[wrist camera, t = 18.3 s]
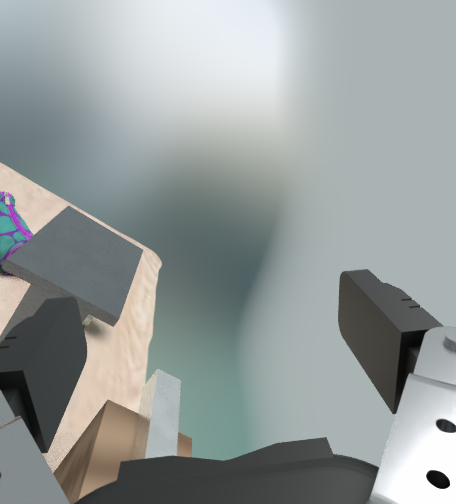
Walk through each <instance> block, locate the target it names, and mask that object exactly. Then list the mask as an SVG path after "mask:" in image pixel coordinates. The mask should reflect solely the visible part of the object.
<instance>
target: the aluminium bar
mask: <svg viewBox="0 0 456 504" xmlns="http://www.w3.org/2000/svg"><path fill="white" fill-rule="evenodd" d="M180 386H181V380H179V379H177V378H175V377H173V376H171V375H169V374H167V373H165V372H163V371H161V370H159V369H157V370H156V372H155V373H154V374H153V375H152V377H151V378H150V379H149V381H148V382H147V383H146V384H145V386H144V387H143V392H142V397H141V403H140V409H139V414H138V420H137V425H136V431H135V436H134V442H133V447H132V453H131V458H130V460H138V459H146V458H155V457H163V456H172V455H173V456H177V441H178V422H179V402H180Z"/></svg>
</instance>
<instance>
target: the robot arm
mask: <svg viewBox="0 0 456 504" xmlns="http://www.w3.org/2000/svg"><path fill="white" fill-rule="evenodd" d="M338 322H339V328H340V332H341V335H342V337H343V339H344V340H345V341H346V343H347V345H348V346H349V348H350V349H351V351H352V352H353V354H354V355H355V357H356V358H357V360H358V361H359V363H360V364H361V366H362V368H363V369H364V370H365V372H366V374H367V375H368V377H369V378H370V380H371V381H372V383H373V384H374V386H375V387H376V389H377V391H378V392H379V394H380V395H381V397H382V398H383V400H384V401H385V403H386V404H387V406H388V407H389V408H390V410H391V412H392V413H393V414H396V416H395V420H394V423H393V426H392V429H391V432H390V436H389V439H388V442H387V445H386V448H385V452H384V455H383V458H382V461H381V465H380V468H379V467H377V466H374V465H372V464H370V463H367V462H365V461H362V460H359V459H356V458H352V457H347V456H343V455H337V454H333V453H332V450H331V448H330V445H329V443H328V440H327V438H326V437H325V438H316V439H308V440H299V441H291V442H282V443H276V444H273V445H271V446H267V447H265V448H262V449H259V450H256V451H253V452H251V453H248V454H245V455H242V456H239V457H236V458H234V459H230V460H225V461H220V460H211V459H201V458H192V457H183V456H173V455H172V456H163V457H155V458H146V459H138V460H129V461H121V462H120V467H119V472H118V477H117V480H115V481H113V482H110V483H108V484H105V485H103V486H101V487H99V488H97V489H95V490H93V491H92V492H90V493H88V494H86V495H85V496H83V497H82V498H80V499H79V500H78V501H76V502H75V503H73V504H456V327H444V326H443V325H442V324H441V323H439V322H438V321H437V320H436V319H435V318H434V317H433V316H431V315H430V314H429V313H428V312H427V311H425V310H424V309H423V308H420V305H419V304H417V303H416V302H415V301H414V300H412V298H411V297H410V296H408V295H407V294H406V293H405V292H404V291H402V290H401V289H399V288H396V287H394V286H392V285H390V284H387V283H382V282H381V281H380V280H379V279H377V277H376V276H375V275H373V274H372V273H371V272H370V271H369V270H367V269H365V270H354V271H344V272H342V273H341V275H340V285H339V311H338ZM86 358H87V343H86V338H85V333H84V329H83V324H82V320H81V315H80V311H79V306H78V303H77V300H76V298H75V297H73V296H70V297H60V298H49V299H46V300H45V301H44V302H43V304H42V305H41V306H40V307H39V309H38V310H37V311H36V313H35V314H34V315H33V316H31V317H27V318H26V319H24V320H23V321H21V322H20V323H18V324H17V325H15V326H14V327H13V328H12V329H11V330H10V332H9V333H8V334H7V335H6V336H5V338H4V340H2V341H1V342H0V504H70V503H69V501H68V499H67V497H66V496H65V494H64V492H63V490H62V489H61V487H60V485H59V483H58V482H57V480H56V478H55V476H54V474H53V473H52V471H51V469H50V467H49V466H48V464H47V462H46V460H45V458H44V457H43V455H42V453H48V450H49V448H50V446H51V443H52V441H53V439H54V436H55V434H56V431H57V429H58V427H59V424H60V422H61V420H62V417H63V415H64V413H65V410H66V408H67V405H68V403H69V401H70V398H71V396H72V394H73V391H74V389H75V387H76V384H77V382H78V380H79V377H80V375H81V372H82V370H83V368H84V365H85V363H86Z"/></svg>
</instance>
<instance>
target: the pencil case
mask: <svg viewBox="0 0 456 504" xmlns="http://www.w3.org/2000/svg"><path fill="white" fill-rule="evenodd" d="M14 206H15V199H14V197H13V196H12V195H11V194H9V193H7V192H0V265H1V266H3V264H4V262H5V260H6V259H7V258H8V257H9V256H10V255H11V254H13V253H14V252H15V251H16V250H17V249H18V248H20V247H21V246H22V245H23V244H24V243H25V242H27V241H28V240H29V239H30V238H31V237H32V236H34V235H33V234H32V233H31V231H30V230H29V228H28V226H27V225H26V223H25V222H24V220H23V219H22V218H21V216H20V215H19V214H18V213H17V211H16V210H15V208H14ZM4 271H5V270H4ZM5 272H7V271H5ZM7 273H8V274H11V273H9V272H7ZM11 275H13V274H11Z"/></svg>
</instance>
